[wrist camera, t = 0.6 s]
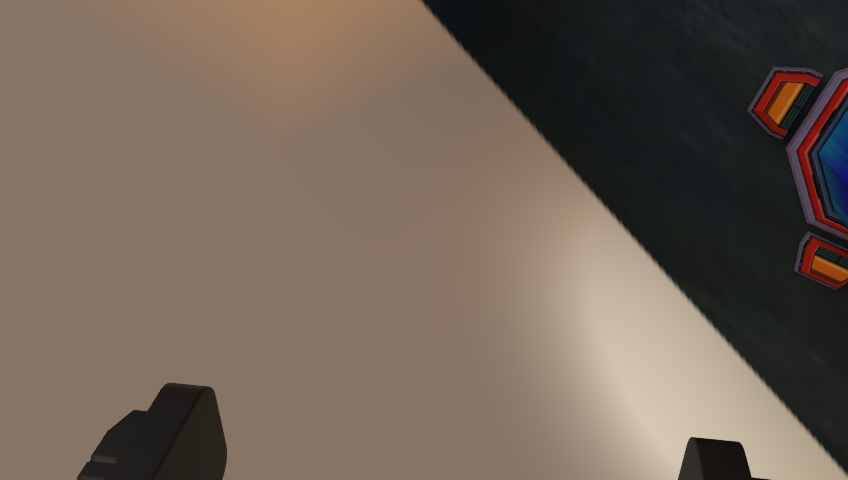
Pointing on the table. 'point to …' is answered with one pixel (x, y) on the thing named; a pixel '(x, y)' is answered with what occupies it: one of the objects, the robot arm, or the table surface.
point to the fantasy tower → (813, 161)
